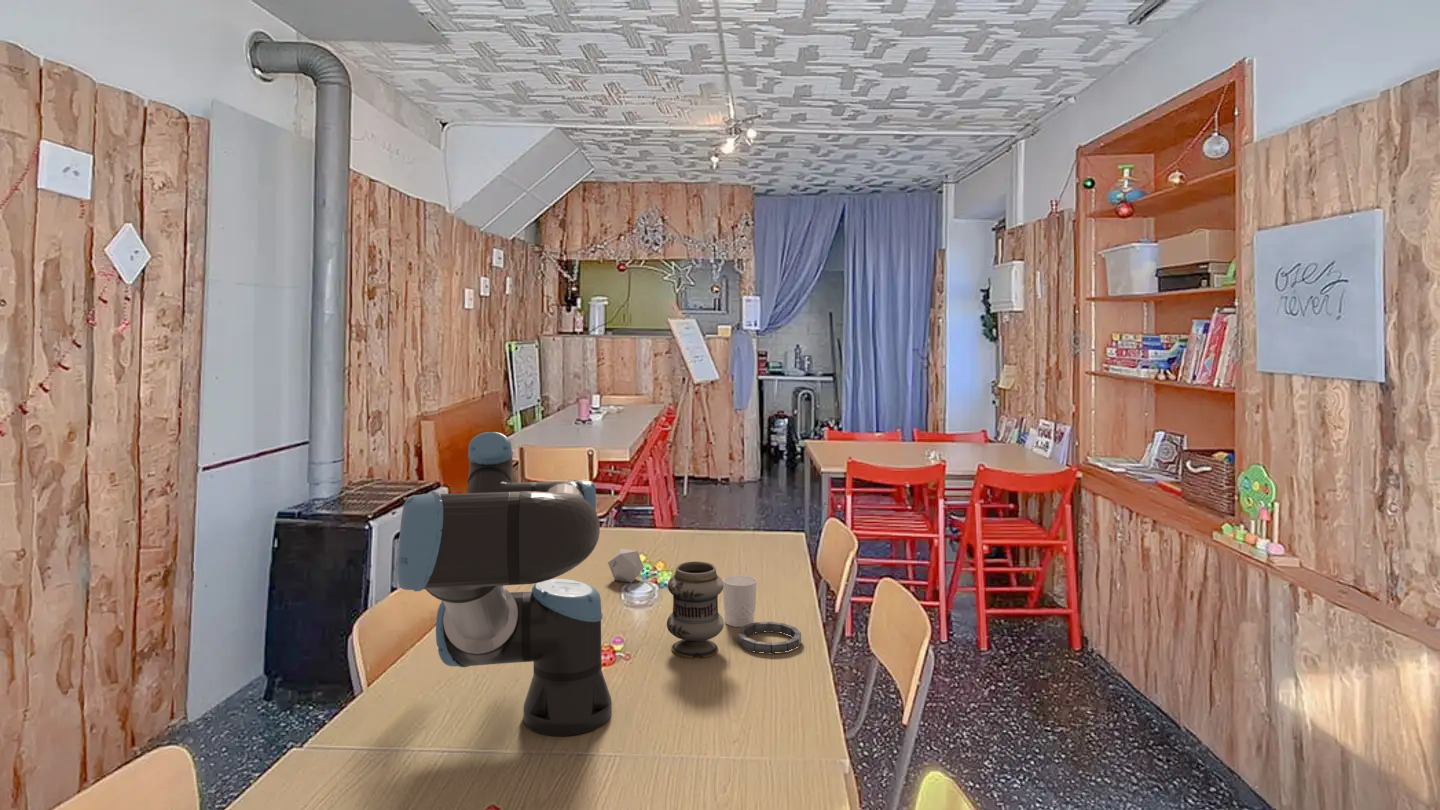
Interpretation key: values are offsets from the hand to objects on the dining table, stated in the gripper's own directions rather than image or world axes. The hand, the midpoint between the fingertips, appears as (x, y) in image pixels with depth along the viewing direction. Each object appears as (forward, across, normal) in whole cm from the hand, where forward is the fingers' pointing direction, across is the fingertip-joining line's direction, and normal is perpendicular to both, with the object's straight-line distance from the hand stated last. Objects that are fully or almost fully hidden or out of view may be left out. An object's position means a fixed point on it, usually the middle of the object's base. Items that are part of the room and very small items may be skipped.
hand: (500, 574), depth 164 cm
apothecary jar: (+12, -39, +16) cm, 44 cm away
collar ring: (+12, -56, +16) cm, 59 cm away
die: (+40, -32, -26) cm, 58 cm away
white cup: (+20, -53, +6) cm, 57 cm away
